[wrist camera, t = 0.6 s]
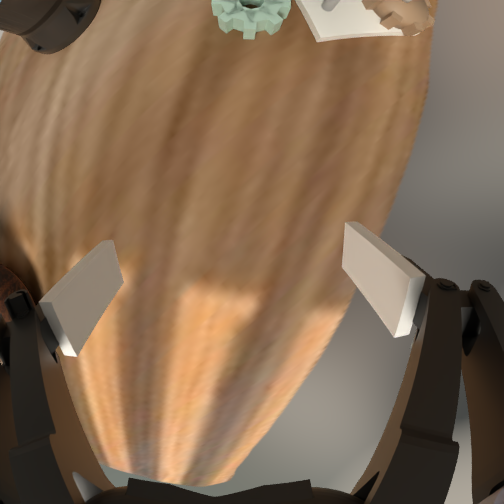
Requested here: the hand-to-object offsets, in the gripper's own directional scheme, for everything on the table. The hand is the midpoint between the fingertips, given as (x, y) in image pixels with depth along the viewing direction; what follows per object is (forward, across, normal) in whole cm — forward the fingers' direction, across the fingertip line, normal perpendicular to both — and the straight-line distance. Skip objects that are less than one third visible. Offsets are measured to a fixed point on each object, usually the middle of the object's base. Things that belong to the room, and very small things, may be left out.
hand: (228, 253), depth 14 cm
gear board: (+25, +23, +31) cm, 46 cm away
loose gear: (+25, +4, +27) cm, 37 cm away
